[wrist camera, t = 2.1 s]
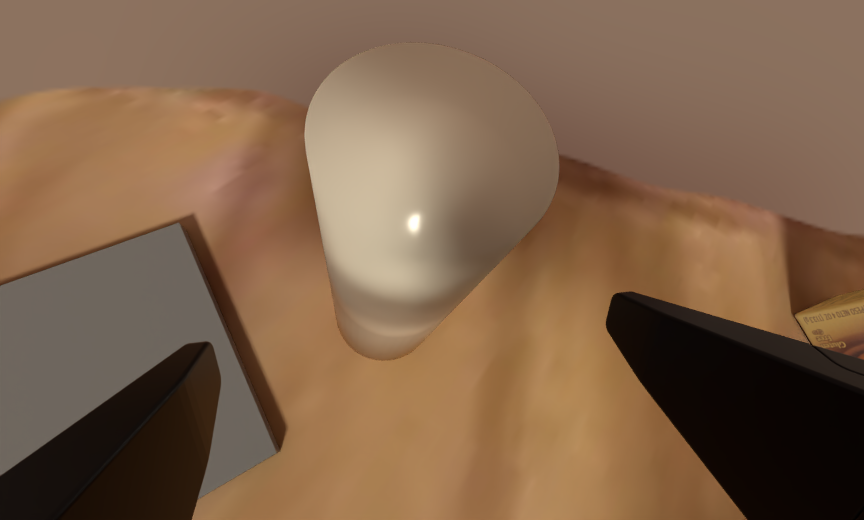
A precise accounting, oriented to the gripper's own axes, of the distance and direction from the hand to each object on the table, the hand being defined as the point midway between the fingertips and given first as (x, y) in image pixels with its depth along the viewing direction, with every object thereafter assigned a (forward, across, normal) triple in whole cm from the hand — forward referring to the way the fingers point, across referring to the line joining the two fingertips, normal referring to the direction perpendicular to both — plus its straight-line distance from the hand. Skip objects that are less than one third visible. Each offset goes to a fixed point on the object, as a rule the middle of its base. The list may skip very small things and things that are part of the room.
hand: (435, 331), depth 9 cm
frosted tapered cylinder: (+9, 0, +5) cm, 11 cm away
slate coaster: (+8, +12, +7) cm, 16 cm away
